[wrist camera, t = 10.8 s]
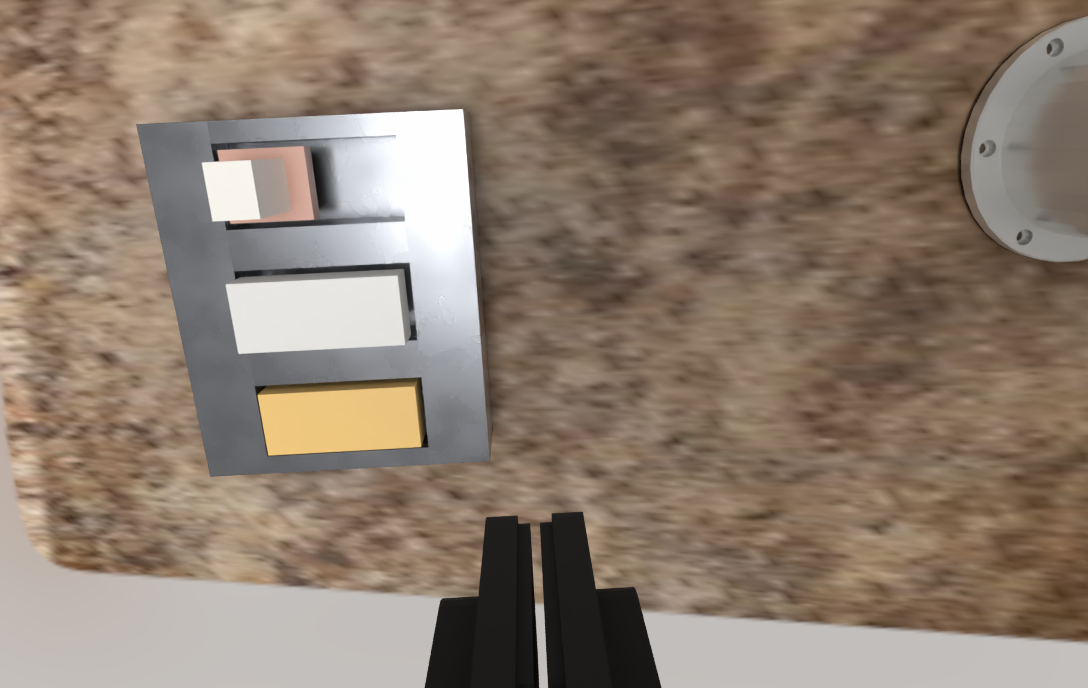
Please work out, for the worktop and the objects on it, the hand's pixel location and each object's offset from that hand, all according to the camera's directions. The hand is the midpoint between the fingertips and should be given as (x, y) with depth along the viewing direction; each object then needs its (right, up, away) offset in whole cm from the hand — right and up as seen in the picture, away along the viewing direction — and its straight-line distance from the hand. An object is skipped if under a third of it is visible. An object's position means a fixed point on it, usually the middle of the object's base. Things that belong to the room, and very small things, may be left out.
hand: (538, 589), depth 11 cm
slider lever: (-13, +12, +21) cm, 28 cm away
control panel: (-11, +7, +26) cm, 29 cm away
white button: (-11, +6, +22) cm, 25 cm away
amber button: (-10, +1, +25) cm, 27 cm away
